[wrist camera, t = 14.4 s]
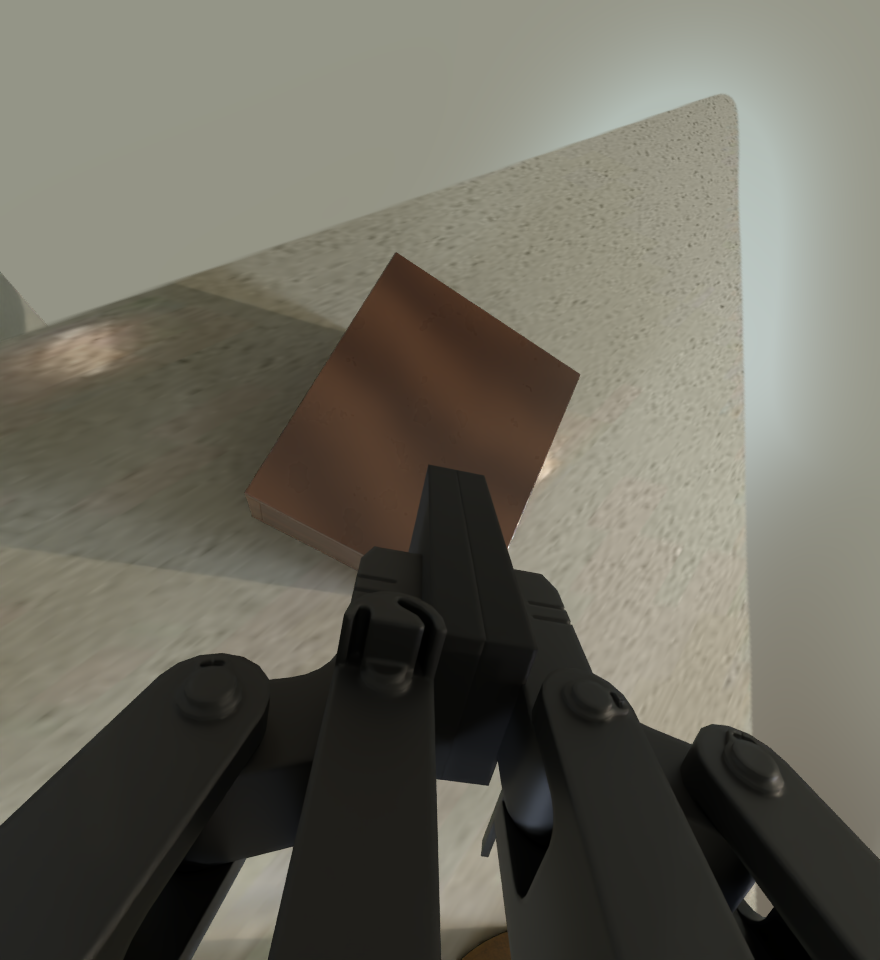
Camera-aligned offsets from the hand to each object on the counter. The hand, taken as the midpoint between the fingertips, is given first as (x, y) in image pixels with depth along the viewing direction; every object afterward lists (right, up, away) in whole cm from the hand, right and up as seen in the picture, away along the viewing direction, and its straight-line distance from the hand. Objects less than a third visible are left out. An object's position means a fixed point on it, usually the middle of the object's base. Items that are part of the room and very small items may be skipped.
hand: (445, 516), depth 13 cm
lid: (-1, +4, +15) cm, 16 cm away
